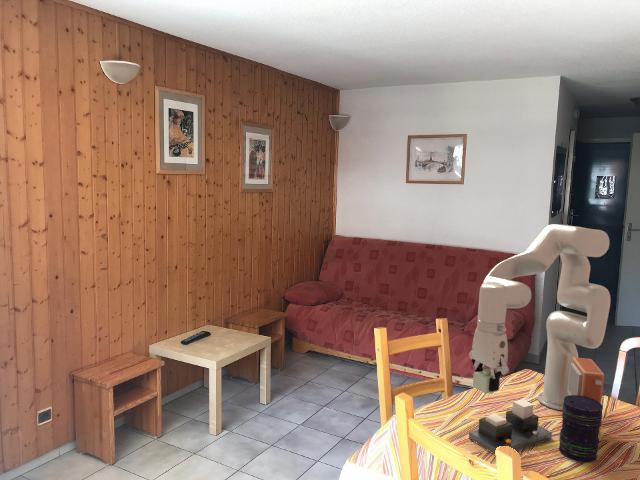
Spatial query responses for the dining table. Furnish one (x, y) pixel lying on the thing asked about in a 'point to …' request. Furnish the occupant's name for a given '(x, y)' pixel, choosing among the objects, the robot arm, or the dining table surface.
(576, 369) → the orange fan heater
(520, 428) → the breaker board
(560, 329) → the robot arm
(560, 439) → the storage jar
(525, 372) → the dining table surface
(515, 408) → the breaker button
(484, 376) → the cap
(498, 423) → the tagged breaker button
